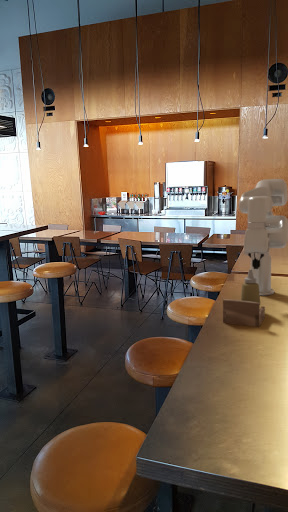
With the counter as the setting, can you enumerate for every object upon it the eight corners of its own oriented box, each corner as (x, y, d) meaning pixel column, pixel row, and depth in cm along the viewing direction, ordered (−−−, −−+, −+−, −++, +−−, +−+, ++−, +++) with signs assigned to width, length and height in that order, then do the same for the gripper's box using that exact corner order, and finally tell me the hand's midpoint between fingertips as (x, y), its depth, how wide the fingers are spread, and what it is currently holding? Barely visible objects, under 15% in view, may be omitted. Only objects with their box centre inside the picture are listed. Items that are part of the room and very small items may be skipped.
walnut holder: (231, 313, 150) (231, 292, 149) (264, 317, 144) (264, 295, 142) (223, 322, 141) (222, 299, 139) (258, 327, 134) (258, 303, 133)
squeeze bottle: (261, 315, 146) (262, 271, 143) (240, 314, 148) (240, 271, 145) (259, 309, 154) (259, 267, 151) (239, 308, 156) (239, 267, 153)
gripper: (276, 225, 154) (275, 268, 157) (241, 225, 161) (240, 266, 164) (273, 227, 148) (272, 271, 151) (236, 226, 155) (236, 269, 158)
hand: (256, 268), depth 157 cm, fingers closed
